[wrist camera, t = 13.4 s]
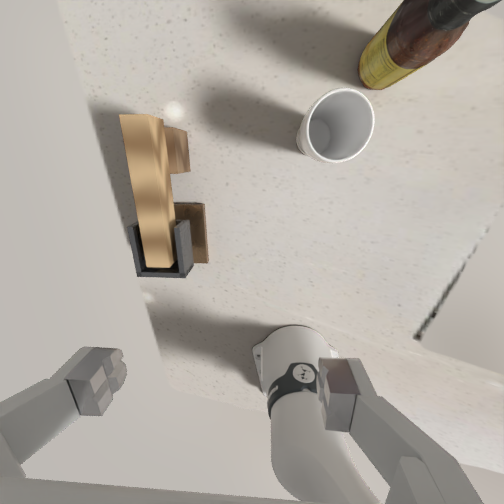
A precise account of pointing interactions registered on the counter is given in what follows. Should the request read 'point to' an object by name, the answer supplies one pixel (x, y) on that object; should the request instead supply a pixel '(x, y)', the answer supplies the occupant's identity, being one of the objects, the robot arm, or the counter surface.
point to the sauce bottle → (415, 38)
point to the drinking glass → (336, 126)
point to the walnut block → (177, 150)
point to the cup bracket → (187, 243)
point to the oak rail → (151, 186)
